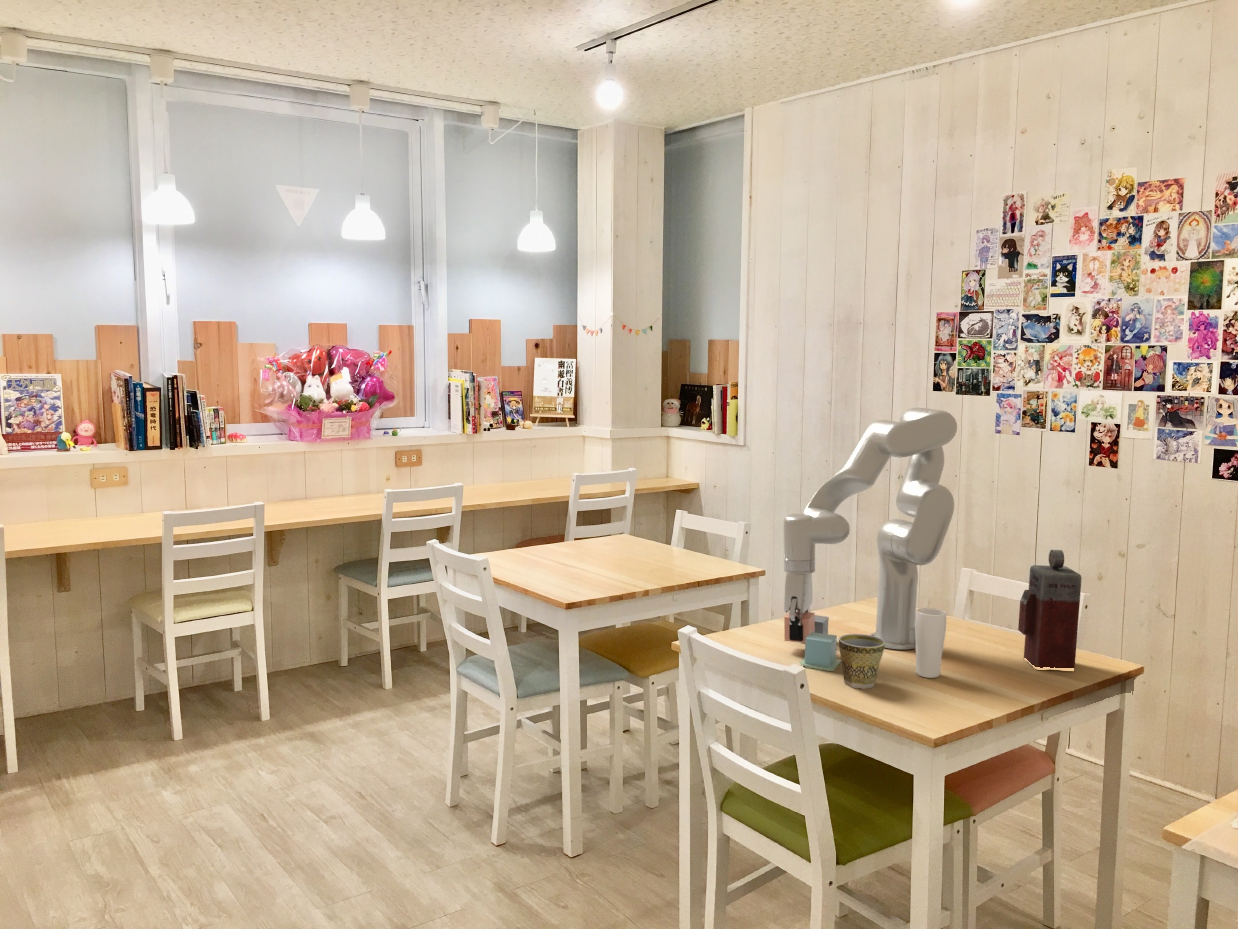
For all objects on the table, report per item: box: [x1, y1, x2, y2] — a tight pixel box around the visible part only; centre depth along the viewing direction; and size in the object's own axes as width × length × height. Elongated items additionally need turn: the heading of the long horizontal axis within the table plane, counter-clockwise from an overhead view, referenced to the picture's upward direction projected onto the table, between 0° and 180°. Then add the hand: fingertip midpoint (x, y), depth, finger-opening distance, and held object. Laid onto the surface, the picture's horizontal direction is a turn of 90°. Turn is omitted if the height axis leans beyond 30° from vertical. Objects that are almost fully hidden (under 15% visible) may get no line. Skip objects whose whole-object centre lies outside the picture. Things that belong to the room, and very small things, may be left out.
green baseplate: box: [799, 657, 842, 672], centre depth 234 cm, size 8×8×1 cm
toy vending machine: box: [1017, 549, 1082, 669], centre depth 236 cm, size 9×11×28 cm
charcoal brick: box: [815, 614, 829, 634], centre depth 253 cm, size 6×6×6 cm
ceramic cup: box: [838, 633, 885, 690], centre depth 222 cm, size 13×10×10 cm
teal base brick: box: [804, 632, 838, 667], centre depth 234 cm, size 6×6×6 cm
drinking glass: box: [915, 607, 948, 679], centre depth 227 cm, size 7×7×15 cm
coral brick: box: [783, 610, 816, 644], centre depth 244 cm, size 6×6×6 cm
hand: (799, 635), depth 244 cm, fingers closed on coral brick, 6 cm apart
